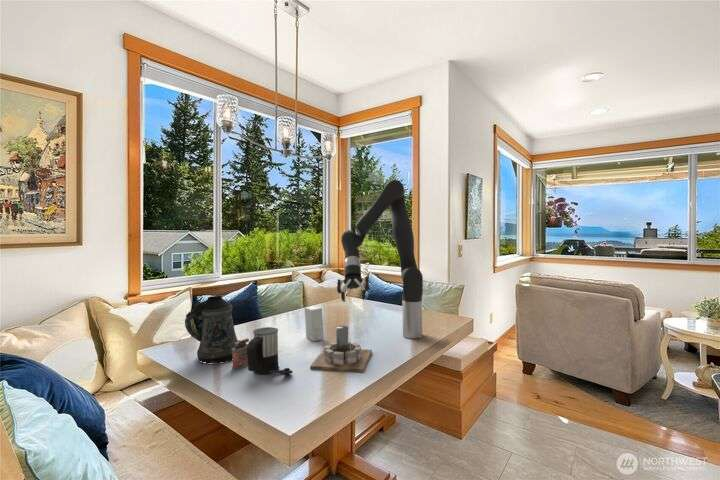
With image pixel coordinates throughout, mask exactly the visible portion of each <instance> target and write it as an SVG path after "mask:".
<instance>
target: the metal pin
mask: <svg viewBox="0 0 720 480" xmlns="http://www.w3.org/2000/svg"><path fill="white" fill-rule="evenodd" d="M335 331H336V333H335V334H336V338H335V339H336V341H335V342H337V352H344V359H345V352H347V351H348V342H349V327H348V326H347V325H337V326H336V329H335Z"/></svg>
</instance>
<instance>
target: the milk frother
mask: <svg viewBox="0 0 720 480" xmlns="http://www.w3.org/2000/svg"><path fill="white" fill-rule="evenodd" d="M278 332H279V328H277V327H261V328H256V329H254V330H253V332H252V333H253V338H252V339H249V342H247V344H248V346H247V358H248V366H247V368H248V371H249V372H254V374H257V375H269V374H280V375H284V376H285V377H289V376H290V374H293V370H291V369H290V367H285V368H283V369H280V366H279V344H278V342H279V341H278V339H279V338H278V337H279V336H278Z"/></svg>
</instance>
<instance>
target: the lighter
mask: <svg viewBox="0 0 720 480" xmlns="http://www.w3.org/2000/svg"><path fill="white" fill-rule="evenodd" d="M237 340H238V339H237ZM249 342H250V339H249V338H248V337H247V338H243V339H242V340H241V339H239V340H238V342H236V343H235V348H233V349H232V358H233V360H232V367H231V369H232V370H233V371H237V370H240V369H243V368H245V367H248V358H247V346H248V343H249Z"/></svg>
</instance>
